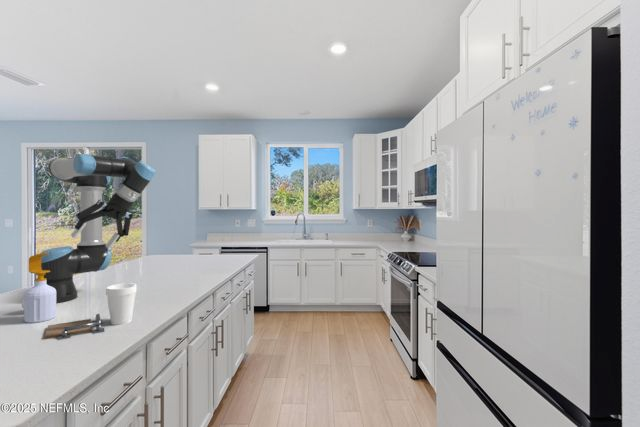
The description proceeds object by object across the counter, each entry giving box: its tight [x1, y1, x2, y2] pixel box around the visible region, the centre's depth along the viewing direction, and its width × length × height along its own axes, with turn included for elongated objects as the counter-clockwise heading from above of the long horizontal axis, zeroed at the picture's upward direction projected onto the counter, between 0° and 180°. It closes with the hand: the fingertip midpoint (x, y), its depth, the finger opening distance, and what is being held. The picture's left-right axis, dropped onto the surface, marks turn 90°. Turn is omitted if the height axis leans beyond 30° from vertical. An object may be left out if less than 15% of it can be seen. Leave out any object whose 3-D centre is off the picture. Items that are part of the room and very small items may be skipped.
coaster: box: [44, 318, 92, 340], centre depth 109 cm, size 12×12×1 cm
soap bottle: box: [23, 252, 57, 324], centre depth 119 cm, size 9×9×25 cm
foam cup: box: [105, 282, 138, 326], centre depth 117 cm, size 10×9×13 cm
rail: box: [57, 313, 105, 341], centre depth 110 cm, size 13×12×3 cm
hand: (90, 242), depth 125 cm, fingers open, 13 cm apart
